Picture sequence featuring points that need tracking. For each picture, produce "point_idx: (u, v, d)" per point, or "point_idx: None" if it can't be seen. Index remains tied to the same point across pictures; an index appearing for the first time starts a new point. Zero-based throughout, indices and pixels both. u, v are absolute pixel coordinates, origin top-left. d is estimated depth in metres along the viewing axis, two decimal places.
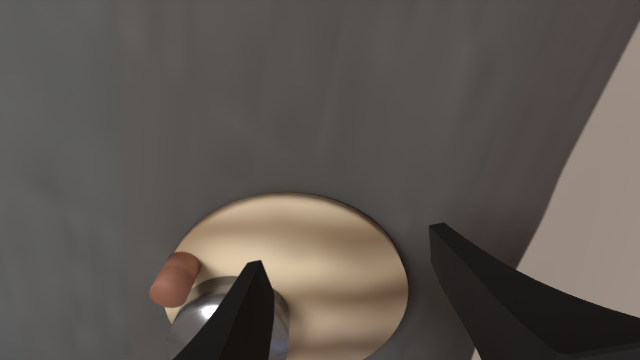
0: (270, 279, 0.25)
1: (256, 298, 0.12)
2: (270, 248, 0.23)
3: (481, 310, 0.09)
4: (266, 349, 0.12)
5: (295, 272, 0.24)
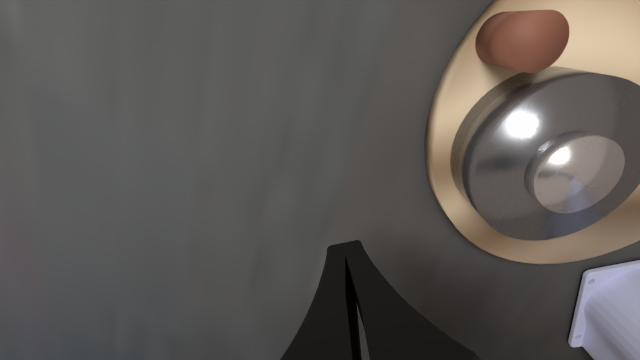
0: None
1: (348, 280, 0.11)
2: (637, 10, 0.15)
3: None
4: (358, 332, 0.12)
5: None
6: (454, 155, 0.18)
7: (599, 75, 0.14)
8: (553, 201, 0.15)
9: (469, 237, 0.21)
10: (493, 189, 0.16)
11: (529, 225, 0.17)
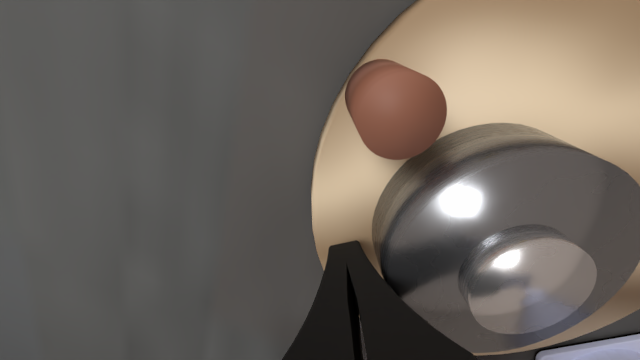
0: None
1: (350, 280, 0.11)
2: (571, 57, 0.11)
3: None
4: (359, 332, 0.12)
5: (593, 124, 0.12)
6: (374, 236, 0.13)
7: (557, 152, 0.09)
8: (496, 321, 0.11)
9: None
10: (416, 297, 0.11)
11: (472, 337, 0.13)
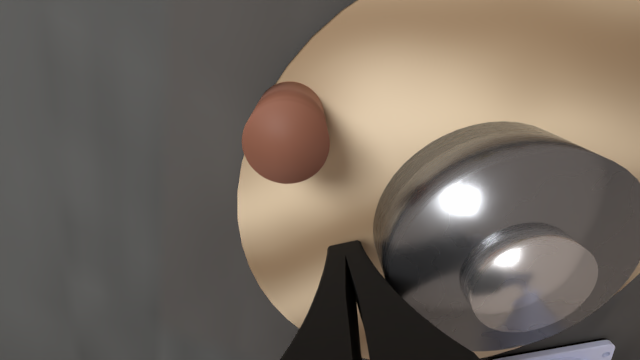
0: None
1: (348, 280, 0.11)
2: (476, 78, 0.11)
3: None
4: (358, 332, 0.12)
5: None
6: (375, 237, 0.13)
7: (554, 150, 0.09)
8: (498, 320, 0.11)
9: None
10: (418, 296, 0.11)
11: (475, 335, 0.13)
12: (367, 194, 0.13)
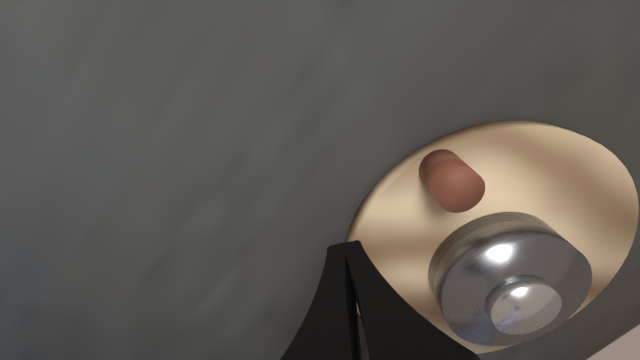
0: None
1: (348, 280, 0.11)
2: (536, 190, 0.19)
3: None
4: (358, 332, 0.12)
5: None
6: (439, 254, 0.21)
7: (567, 244, 0.18)
8: (501, 322, 0.19)
9: (358, 309, 0.24)
10: (462, 297, 0.19)
11: (474, 331, 0.21)
12: (447, 227, 0.20)
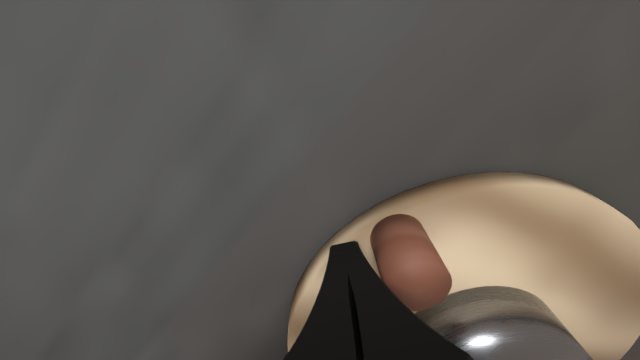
0: None
1: None
2: (527, 261, 0.15)
3: None
4: None
5: None
6: None
7: (567, 344, 0.13)
8: None
9: None
10: None
11: None
12: None
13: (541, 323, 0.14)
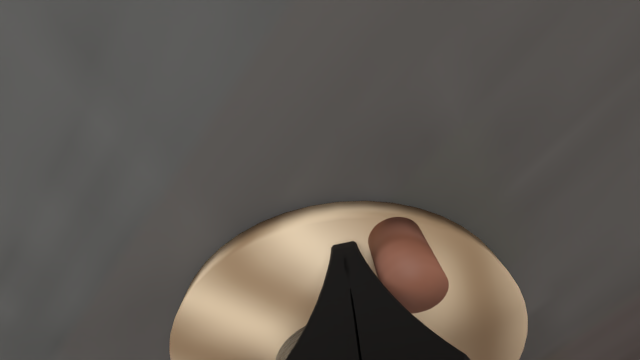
0: None
1: None
2: (450, 322, 0.17)
3: None
4: None
5: None
6: None
7: None
8: None
9: (174, 334, 0.16)
10: None
11: None
12: None
13: None
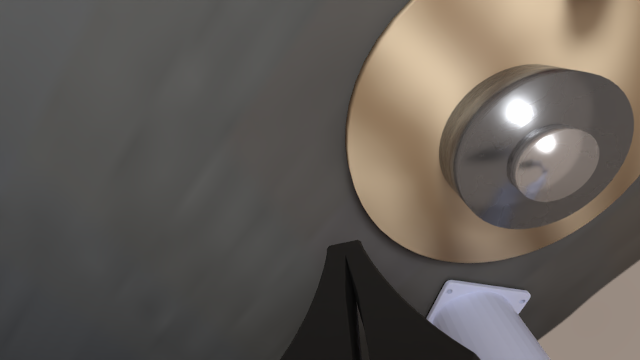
0: None
1: (348, 280, 0.11)
2: (614, 82, 0.18)
3: None
4: (358, 332, 0.12)
5: None
6: (502, 74, 0.17)
7: (632, 126, 0.16)
8: (529, 163, 0.16)
9: (362, 86, 0.17)
10: (515, 111, 0.15)
11: (477, 173, 0.17)
12: (528, 53, 0.17)
13: None
